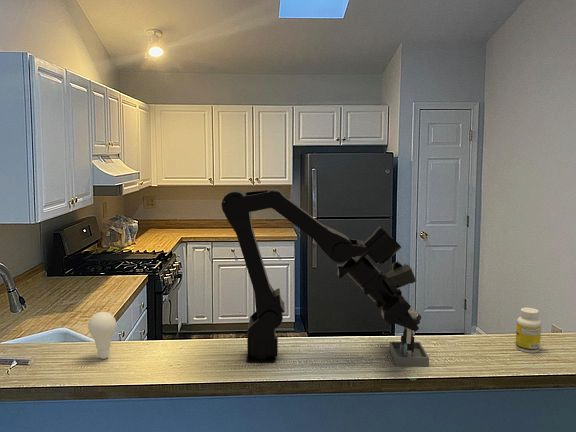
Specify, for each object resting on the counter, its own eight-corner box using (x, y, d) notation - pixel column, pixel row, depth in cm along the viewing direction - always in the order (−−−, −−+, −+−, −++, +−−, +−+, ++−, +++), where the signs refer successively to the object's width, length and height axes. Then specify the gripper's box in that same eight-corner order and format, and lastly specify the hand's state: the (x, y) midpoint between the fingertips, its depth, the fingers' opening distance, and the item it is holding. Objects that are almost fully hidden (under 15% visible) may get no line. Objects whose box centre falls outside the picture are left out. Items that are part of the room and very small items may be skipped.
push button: (421, 360, 122) (424, 318, 120) (397, 359, 122) (399, 317, 120) (416, 347, 128) (419, 307, 126) (393, 346, 129) (396, 306, 127)
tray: (395, 365, 121) (396, 357, 121) (389, 349, 130) (389, 341, 130) (428, 366, 121) (429, 357, 121) (419, 349, 130) (419, 342, 130)
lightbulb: (123, 356, 125) (121, 310, 124) (104, 366, 120) (102, 318, 118) (103, 351, 128) (101, 306, 126) (83, 361, 123) (81, 314, 121)
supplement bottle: (518, 343, 135) (520, 305, 133) (541, 348, 132) (544, 309, 130) (512, 349, 130) (515, 310, 129) (537, 355, 127) (540, 315, 126)
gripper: (402, 263, 113) (452, 315, 114) (388, 245, 131) (431, 290, 133) (363, 299, 114) (413, 350, 115) (354, 276, 132) (397, 320, 134)
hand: (414, 325), depth 124 cm, fingers closed on push button, 5 cm apart
